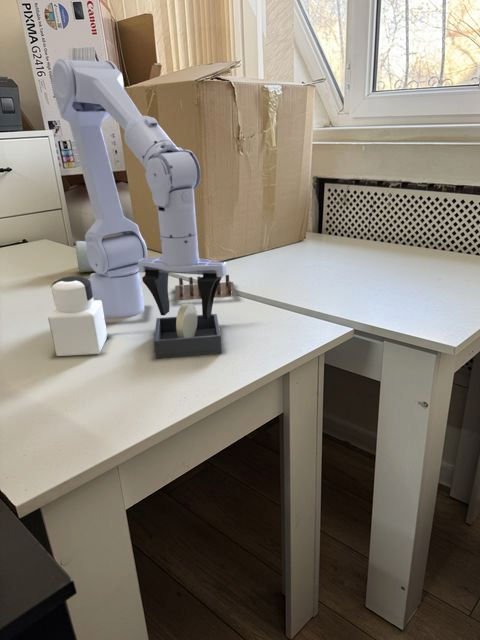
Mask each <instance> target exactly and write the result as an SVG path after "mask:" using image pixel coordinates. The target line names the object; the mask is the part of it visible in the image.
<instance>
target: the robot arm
mask: <svg viewBox="0 0 480 640" xmlns="http://www.w3.org/2000/svg"><path fill="white" fill-rule="evenodd" d="M51 87H52V90H53V94H54V97H55V102H56V106H57V108H58V110H59V115H60V118H61V119H62V120H65V121H66V122H68V124H69V128H70V132H71V135H72V138H73V142H74V146H75V147H74V148H75V149H76V150H75V151H76V153H77V157H78V161H79V165H80V168H81V172H82V175H83V179H84V183H85V186H86V190H87V195H88V198H89V201H90V206H91V209H92V213H93V215H94V219H95V221H94V223H92V225H91V226H90V228H89V229H88V230H87V231H86V233H85V234H84V241H86V246H87V258H88V261H89V264H90V266H91V267H92V269H93V270H94V271H93V273H90V275H89V280H90V282H91V288H92V294H93V300H101V302H102V307H103V313H104V319H105V318H130V317H134V316H137V315H140V314H142V313H143V312H144V311H145V301H144V294H143V286H142V282H143V284H144V285H145V286H146V288H147V289H148V291H149V292H150V294H151V295H152V297H153V299H154V301H155V303H156V306H157V308H158V311H159V314H160V316H166V315H167V314H168V313H169V312H170V298H169V274H180V275H181V274H182V275H199V276H200V277H201V278H200V279H199V280H197V279H196V281H197V283H196V284H198V286H199V289H200V294H201V299H200V300H201V310H202V311H201V312H202V314H201V315H203V319H208V318H209V317H210V316H211V314H213V313H212V312H213V305H214V300H215V298H214V297H215V293H216V290H217V288H218V285H219V283H220V282H221V280H222V279H223V278H224V277H226V276H225V275H227V262H226V261H217V260H211V259H205V258H200V255H199V241H198V230H197V228H198V227H197V217H196V202H195V190H196V189H197V188H198V187H199V185H200V183H201V179H202V178H201V177H202V174H201V173H202V171H201V165H200V163H199V160H198V158H197V157H196V155H195V153H194V152H193V151H192V150H190V149H183V148H182V147H179V146H178V147H177V146H176V144H175V143H174V142H173V141H172V139H171V138H170V137H169V136H168V134H167V133H166V131H165V130H164V129H163V128H162V127H161V126H160V124H159V122H158V120H157V119H156V118H155V117H151V116H149V115H142V114H141V112H140V110H139V109H138V108H137V106H136V105H135V103H134V102H133V100H132V98H131V97H130V95H129V94H128V93H127V91H126V90H125V88H124V87H125V86H124V78H123V73H122V71H120V70H119V68H118V66H117V65H116V64H115V63H114V62H113V61H111V60H105V61H99V60H98V61H97V60H96V61H95V60H77V59H66V58H57V59H56V60H55V62H54V63H53V66H52V70H51ZM110 117H111V118H112V119H113V120H114V121H115V122H116V123H117V124H118V125H119V126H120V127H121V128H122V130H123V131H124V134H123V139H124V143H125V144H126V145H127V147H128V149H130V152H132V154H133V155H134V157H136V158H137V160H138V161H139V162H140V164H141V165H142V166H143V167H144V169H145V171H146V172H144V176H145V180H146V183H147V185H148V188H149V190H150V192H151V197H152V202H153V204H154V206H156V210H157V217H158V228H159V236H160V247H161V254H162V255H161V256H162V257H148V247H147V244H146V241H145V239H144V238H143V236H142V234H141V232H140V228H139V225H138V224H136V223H135V222H133V221H132V220H130V219H128V218H127V217H125V216H124V212H123V208H122V205H121V201H120V197H119V193H118V188H117V185H116V181H115V177H114V172H113V169H112V166H111V165H112V164H111V162H110V161H111V160H110V158H109V153H108V150H107V145H106V142H105V139H104V138H105V137H104V135H103V131H102V130H103V129H102V124H103V122H104V121H105V120H107V119H108V118H110ZM115 234H120V235H115ZM110 235H115V236H110ZM105 236H110V237H106V238H104V237H105ZM141 273H143V274H144V276H142V278H141Z"/></svg>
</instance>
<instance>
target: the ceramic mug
mask: <svg viewBox="0 0 480 640" xmlns="http://www.w3.org/2000/svg"><path fill="white" fill-rule="evenodd" d="M75 252H76V261H77V268H78V272H79V273H91V272H95V271H94V270H93V269H92V267H91V266H90V264H89V261H88V258H87V246H86V240H76V241H75Z"/></svg>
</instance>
